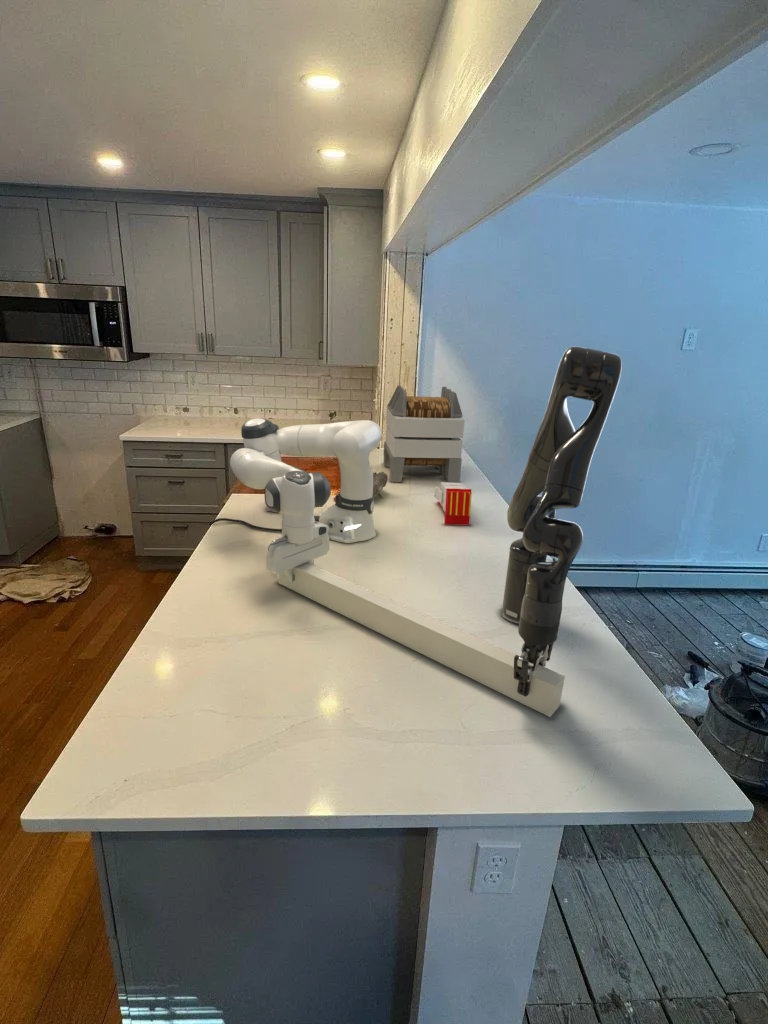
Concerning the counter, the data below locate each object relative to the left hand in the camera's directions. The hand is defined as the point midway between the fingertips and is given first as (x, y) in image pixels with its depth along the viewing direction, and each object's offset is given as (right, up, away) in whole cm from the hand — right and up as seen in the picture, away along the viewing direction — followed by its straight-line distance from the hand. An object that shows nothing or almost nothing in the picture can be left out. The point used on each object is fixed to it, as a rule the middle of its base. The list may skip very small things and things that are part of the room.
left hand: (298, 577), depth 158 cm
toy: (+50, +18, +65) cm, 84 cm away
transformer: (+41, +37, +117) cm, 130 cm away
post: (+27, -12, -20) cm, 35 cm away
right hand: (+54, -18, -42) cm, 70 cm away
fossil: (+19, +25, +80) cm, 86 cm away
